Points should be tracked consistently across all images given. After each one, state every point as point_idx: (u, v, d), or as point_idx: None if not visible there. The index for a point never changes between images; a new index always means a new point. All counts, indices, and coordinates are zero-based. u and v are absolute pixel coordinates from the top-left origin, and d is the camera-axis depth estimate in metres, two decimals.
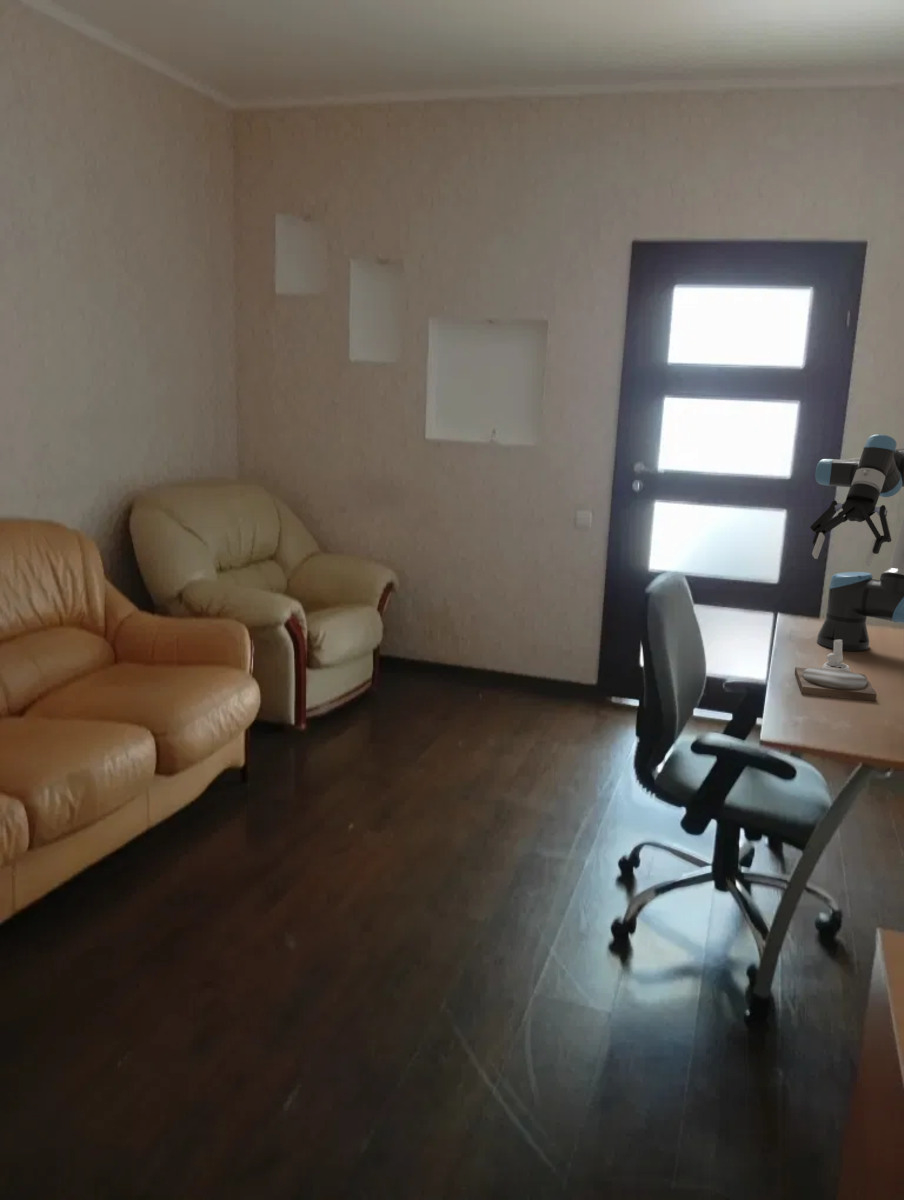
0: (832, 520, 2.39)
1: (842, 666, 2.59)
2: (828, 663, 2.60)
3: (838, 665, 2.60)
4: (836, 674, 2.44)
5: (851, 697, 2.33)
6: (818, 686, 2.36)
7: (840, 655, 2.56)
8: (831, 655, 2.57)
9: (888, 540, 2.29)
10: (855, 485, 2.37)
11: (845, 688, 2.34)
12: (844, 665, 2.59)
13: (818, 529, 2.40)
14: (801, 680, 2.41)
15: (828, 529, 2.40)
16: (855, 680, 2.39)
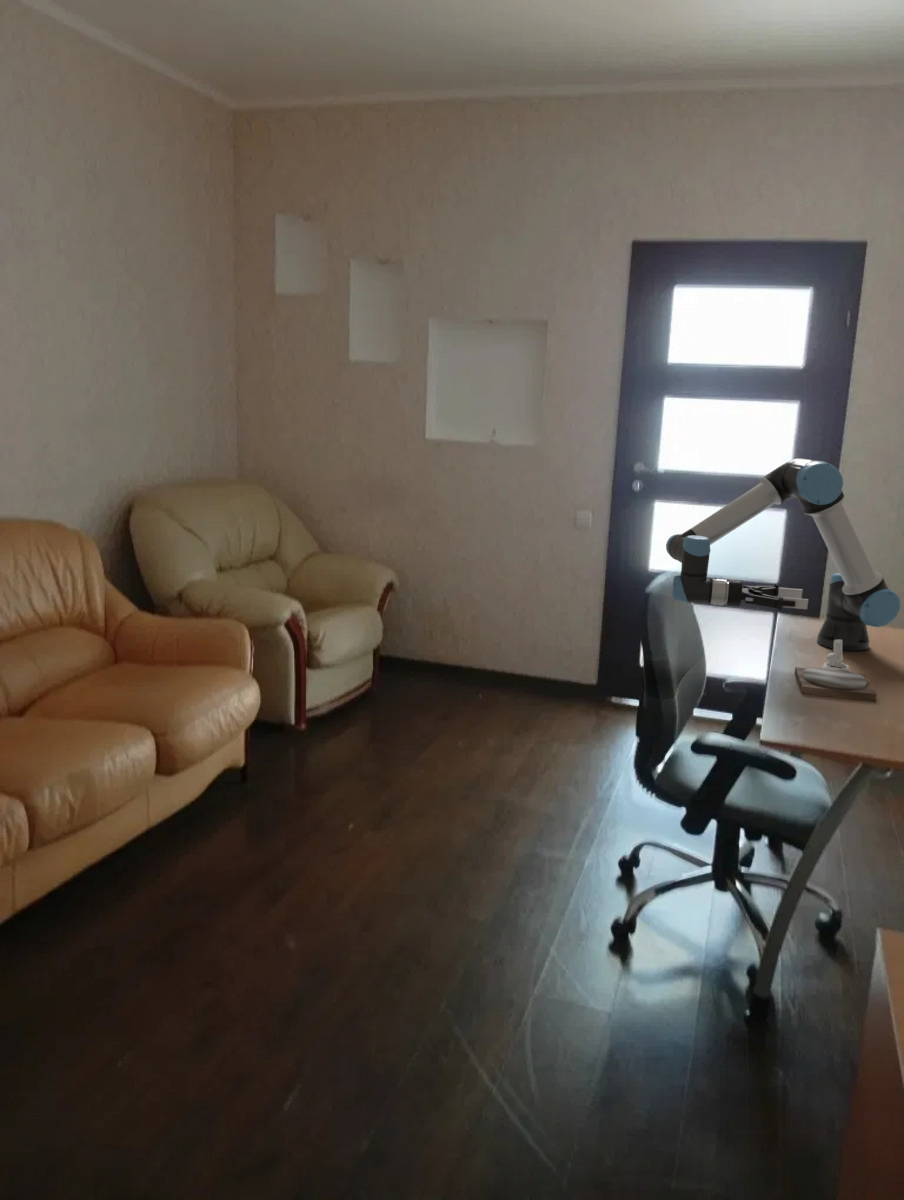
0: None
1: (842, 666, 2.59)
2: (828, 663, 2.60)
3: (838, 665, 2.60)
4: (836, 674, 2.44)
5: (851, 697, 2.33)
6: (818, 686, 2.36)
7: (840, 655, 2.56)
8: (831, 655, 2.57)
9: (780, 603, 2.48)
10: None
11: (845, 688, 2.34)
12: (844, 665, 2.59)
13: (774, 595, 2.65)
14: (801, 680, 2.41)
15: (771, 591, 2.63)
16: (855, 680, 2.39)
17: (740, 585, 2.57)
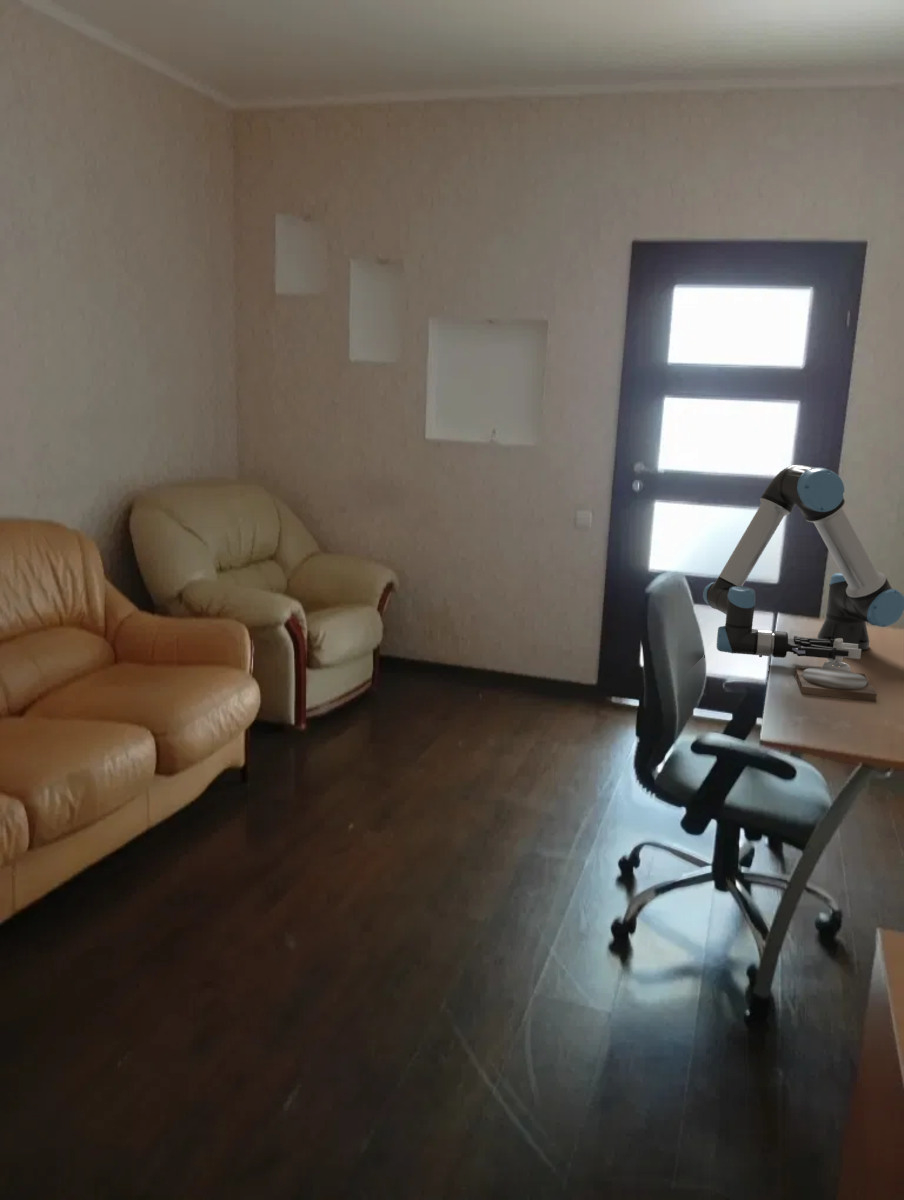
0: None
1: (842, 665, 2.60)
2: (828, 662, 2.61)
3: (838, 664, 2.61)
4: (836, 674, 2.44)
5: (851, 697, 2.33)
6: (818, 686, 2.36)
7: None
8: None
9: (834, 652, 2.52)
10: None
11: (845, 688, 2.34)
12: (844, 664, 2.59)
13: None
14: (801, 680, 2.41)
15: (823, 645, 2.59)
16: (855, 680, 2.39)
17: (786, 637, 2.57)
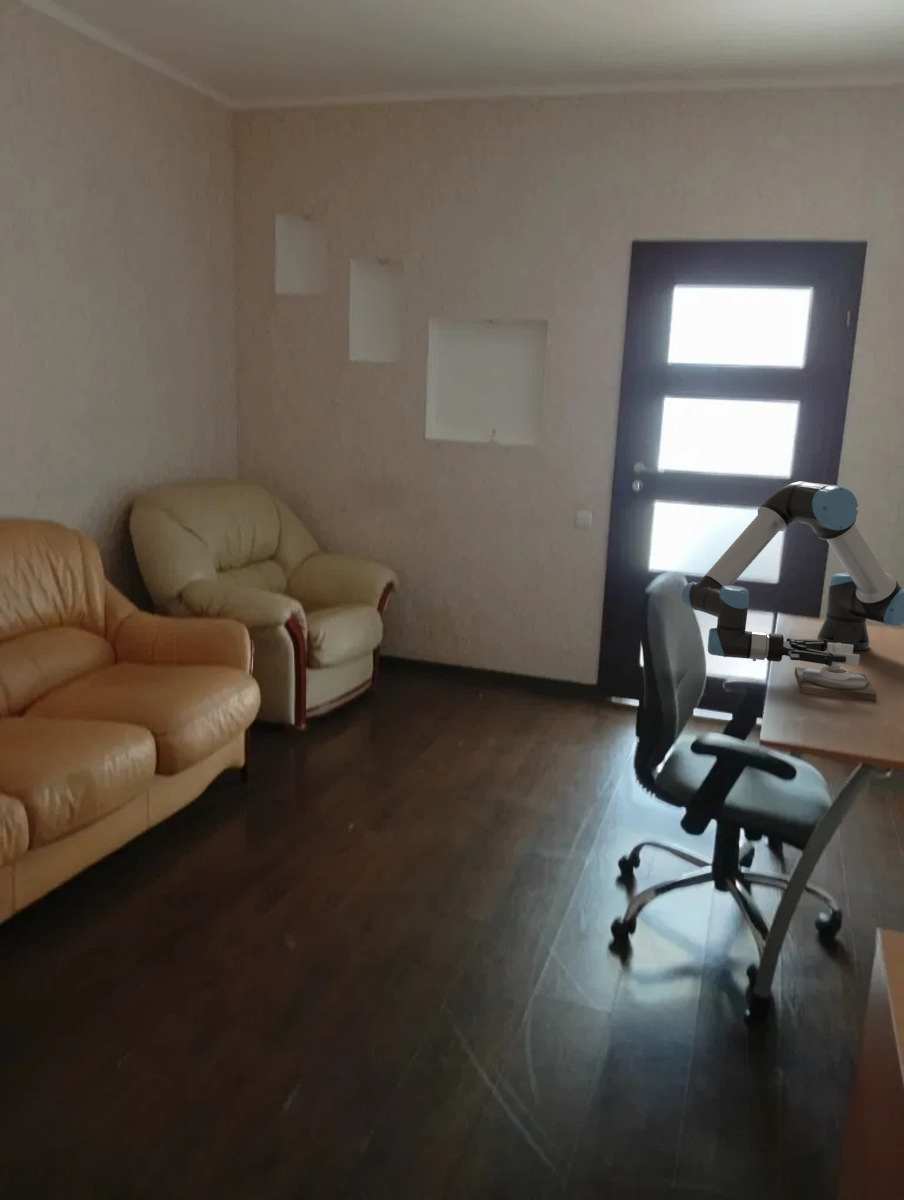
0: None
1: (840, 671, 2.44)
2: (826, 668, 2.45)
3: (836, 670, 2.45)
4: None
5: (851, 697, 2.33)
6: (818, 686, 2.36)
7: None
8: None
9: (830, 658, 2.34)
10: None
11: (845, 688, 2.34)
12: (843, 670, 2.43)
13: None
14: (801, 680, 2.41)
15: (818, 646, 2.45)
16: (855, 680, 2.39)
17: (781, 639, 2.41)
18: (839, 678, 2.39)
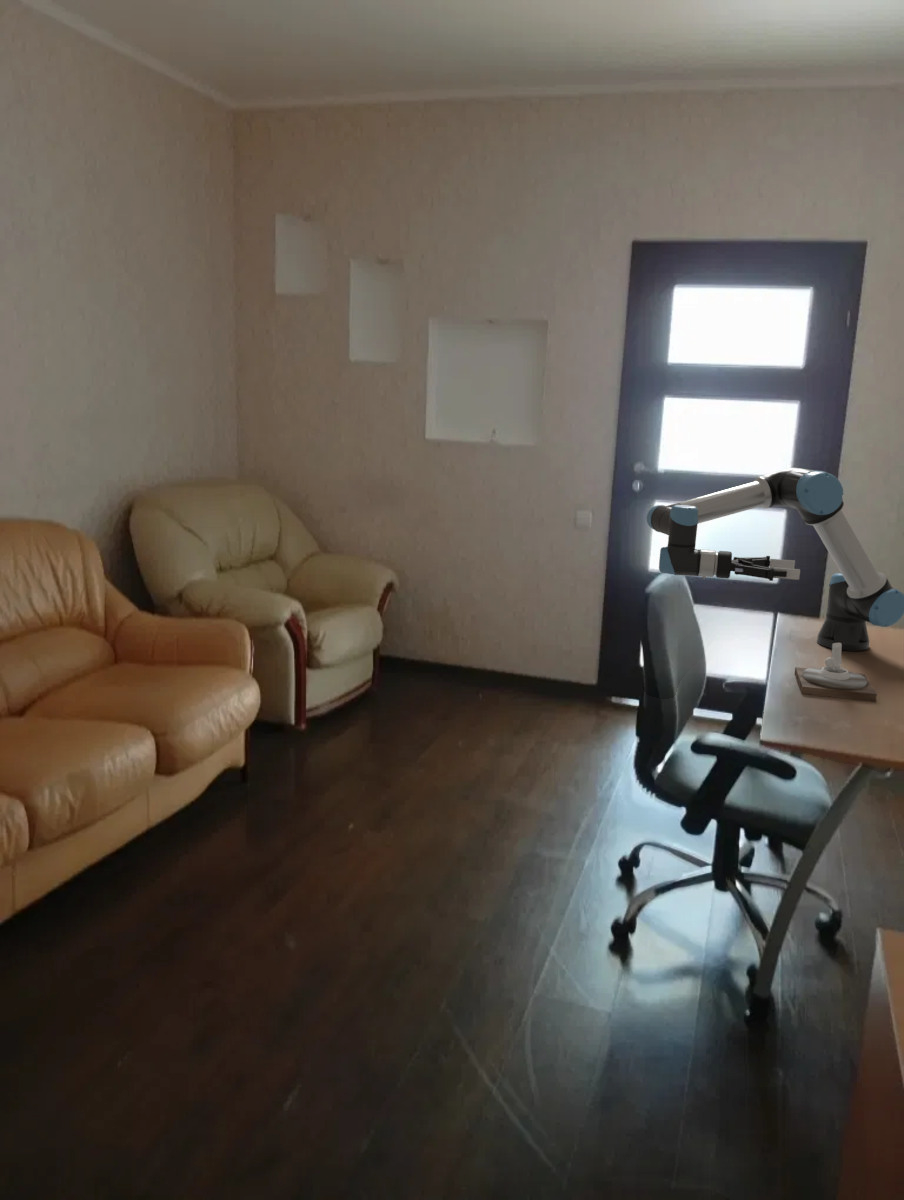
0: None
1: (841, 671, 2.44)
2: (826, 668, 2.45)
3: (836, 670, 2.45)
4: None
5: (851, 697, 2.33)
6: (818, 686, 2.36)
7: (839, 659, 2.41)
8: (829, 659, 2.42)
9: (771, 573, 2.38)
10: None
11: (845, 688, 2.34)
12: (843, 670, 2.43)
13: (766, 567, 2.55)
14: (801, 680, 2.41)
15: (762, 562, 2.53)
16: (855, 680, 2.39)
17: (729, 556, 2.47)
18: (839, 678, 2.39)
